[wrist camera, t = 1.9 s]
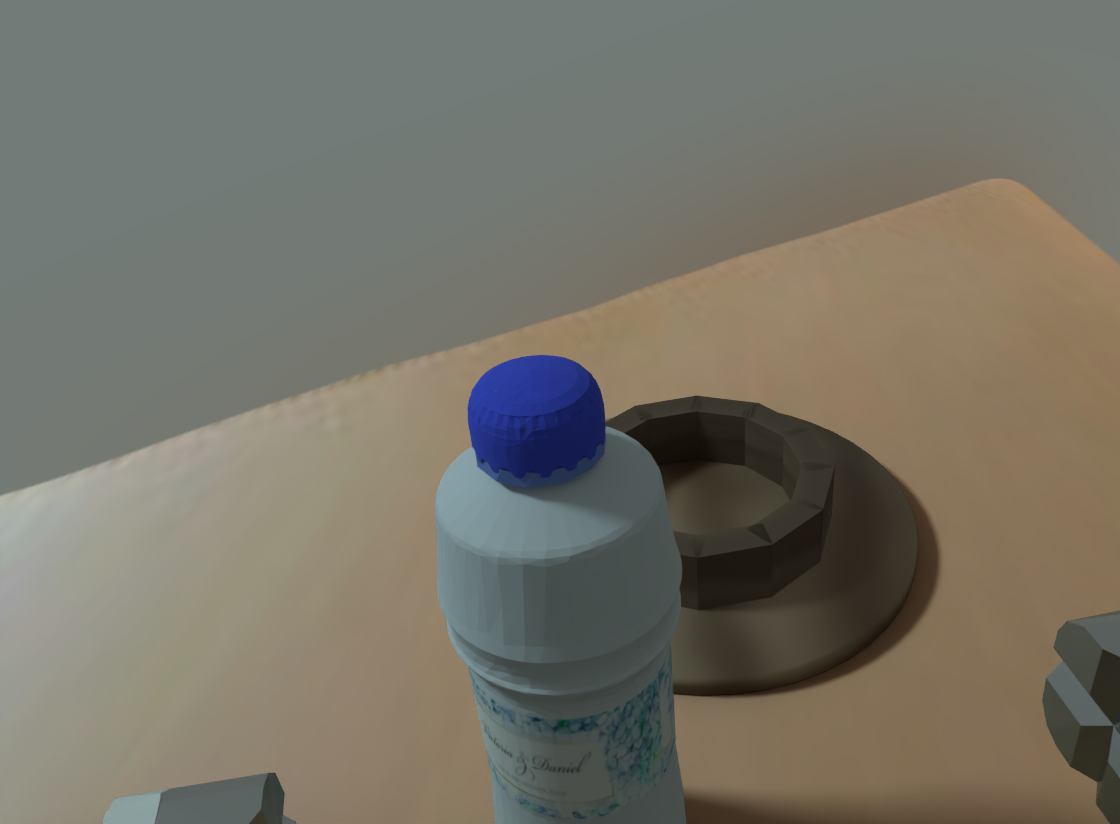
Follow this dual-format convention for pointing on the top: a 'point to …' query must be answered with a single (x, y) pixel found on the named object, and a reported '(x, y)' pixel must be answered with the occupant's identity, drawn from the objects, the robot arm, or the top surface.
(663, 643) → the bottle
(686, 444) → the coaster
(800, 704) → the top surface
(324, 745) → the top surface
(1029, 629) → the top surface
